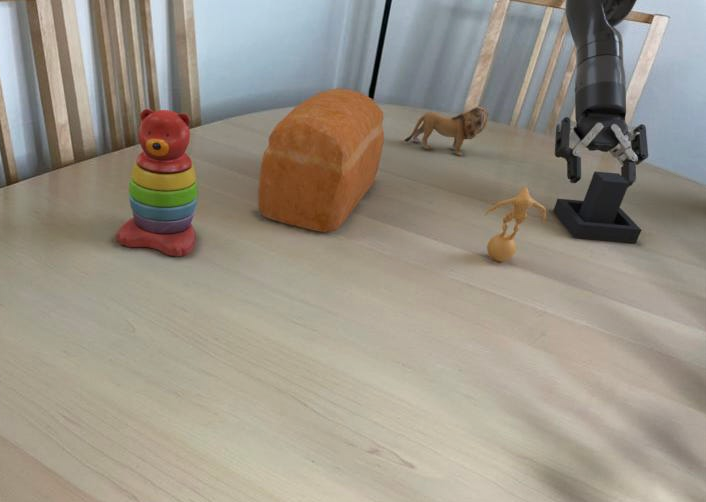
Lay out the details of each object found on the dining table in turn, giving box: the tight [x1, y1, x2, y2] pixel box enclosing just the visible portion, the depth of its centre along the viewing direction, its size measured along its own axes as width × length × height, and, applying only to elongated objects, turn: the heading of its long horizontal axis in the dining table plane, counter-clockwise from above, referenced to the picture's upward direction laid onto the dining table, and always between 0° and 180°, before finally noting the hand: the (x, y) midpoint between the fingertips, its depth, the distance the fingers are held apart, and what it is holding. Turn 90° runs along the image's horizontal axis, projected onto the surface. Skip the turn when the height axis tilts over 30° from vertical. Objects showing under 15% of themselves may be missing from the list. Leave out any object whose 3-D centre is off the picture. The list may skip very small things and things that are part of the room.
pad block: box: [578, 170, 629, 224], centre depth 119 cm, size 4×4×8 cm
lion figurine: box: [403, 106, 490, 156], centre depth 145 cm, size 15×5×9 cm, turn 79°
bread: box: [257, 88, 385, 233], centre depth 118 cm, size 14×26×16 cm, turn 157°
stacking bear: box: [115, 108, 199, 257], centre depth 101 cm, size 11×10×18 cm
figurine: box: [484, 187, 547, 262], centre depth 105 cm, size 8×6×12 cm
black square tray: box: [552, 198, 642, 244], centre depth 121 cm, size 10×10×2 cm
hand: (601, 183), depth 120 cm, fingers open, 8 cm apart
